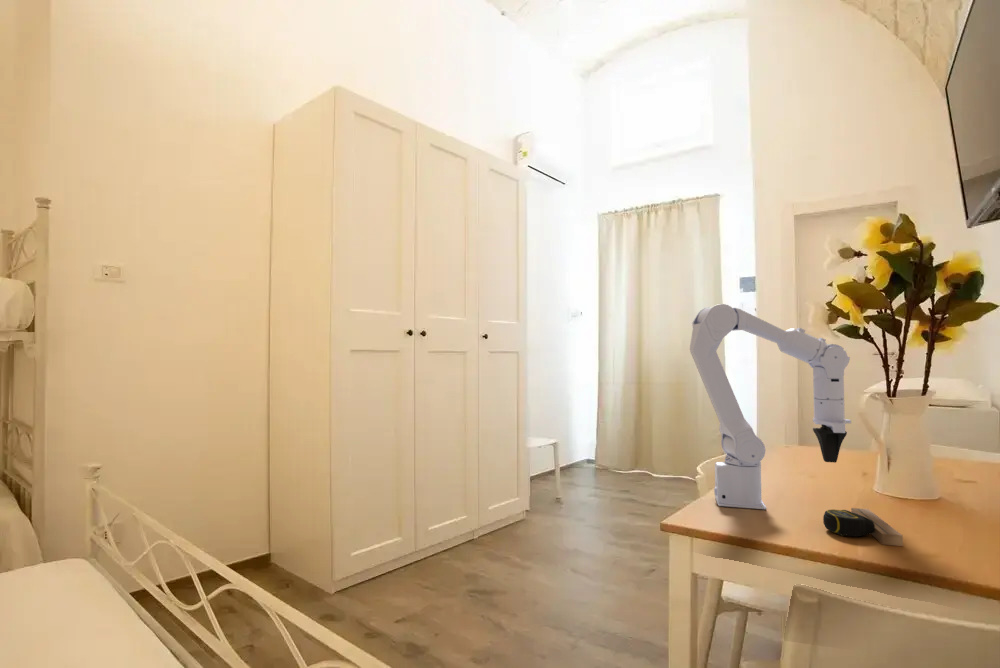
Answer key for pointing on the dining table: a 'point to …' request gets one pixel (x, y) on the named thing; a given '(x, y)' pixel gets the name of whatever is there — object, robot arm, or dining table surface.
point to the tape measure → (847, 523)
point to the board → (881, 528)
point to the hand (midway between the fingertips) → (830, 461)
